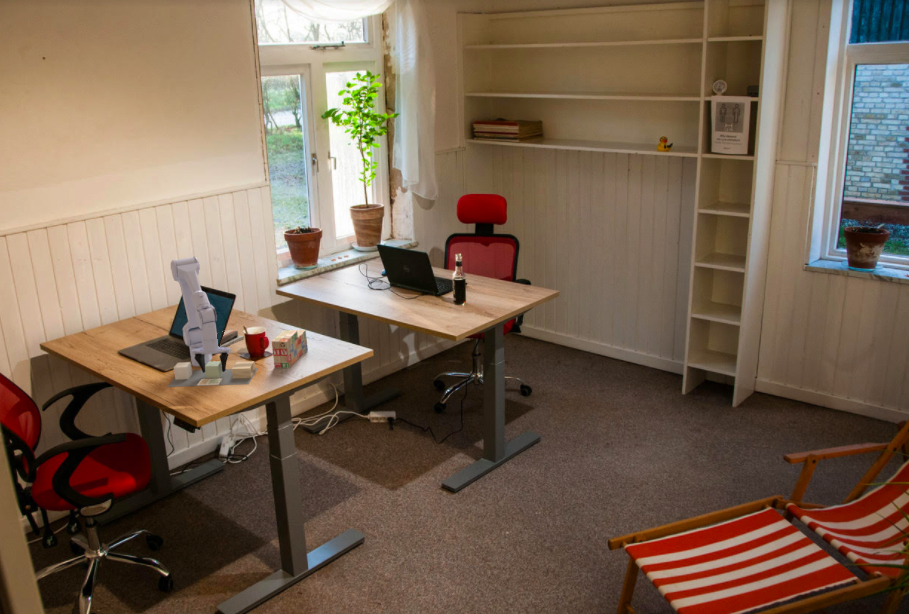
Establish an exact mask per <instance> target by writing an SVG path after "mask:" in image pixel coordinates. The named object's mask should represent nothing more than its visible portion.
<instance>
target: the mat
mask: <svg viewBox="0 0 909 614" xmlns="http://www.w3.org/2000/svg"><path fill="white" fill-rule="evenodd" d="M258 370H259V367H255V372H254V374H253V376H252V377H251V378H235V379H233V375H232V368H226V370H225V372H223V374H222V375H221V377H220V378H222V381H221V382H220V383H219V385H218V386H236V385H238V386H239V385H243V386H244V385H250V383H251V382H252V380H253V378H254V376H255V375H256V373H257V372H258ZM220 378H206V371H205V373H203V372H202V369H195V370H194V369H192V375H191V376H190V378H189V379H177V380H175V377H173V379H172V380H171V381H170V382H169V383H168V385H167V386H166V388H179V387H198V386H197V385H198V383H199V382H200V381H201V379H220ZM205 386H206V387H208V386H210V387H211V386H212V387H213V386H215V385H205ZM205 386H204V387H205Z"/></svg>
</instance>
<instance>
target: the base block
mask: <svg viewBox="0 0 909 614" xmlns="http://www.w3.org/2000/svg"><path fill="white" fill-rule="evenodd" d="M255 368H256V363H255V361H236V362H235V364H234V365H233V366H232V368H231V369H232V375H233V379H235V378H251V377H252V376H253V374H254V372H255ZM253 377H254V376H253Z"/></svg>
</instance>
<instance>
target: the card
mask: <svg viewBox="0 0 909 614" xmlns="http://www.w3.org/2000/svg"><path fill="white" fill-rule="evenodd" d="M221 381H222V378H220V379H201V381H200V382H199V383H198V385H197V386H196V387H205V385H214V386H220V385H219V383H220V382H221Z"/></svg>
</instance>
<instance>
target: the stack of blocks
mask: <svg viewBox="0 0 909 614" xmlns="http://www.w3.org/2000/svg"><path fill="white" fill-rule="evenodd" d="M271 347H272V348H271V349H272V350H271V351H272V356H273V367H274V368H277V369H278V368H281V369H282V368H284V369H290V368H291V367H292V366H293V365H294V364H295V363H296V362H297V361H298V360H299V358H301V356H302V355H305V354H306V353H307V352H308V349H309V347H308V337H307V331H306V329H291V330H282V331H281V332H280V333H279V334H278V335H277V336H276V337H275V338H274V339H272V340H271Z"/></svg>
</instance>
